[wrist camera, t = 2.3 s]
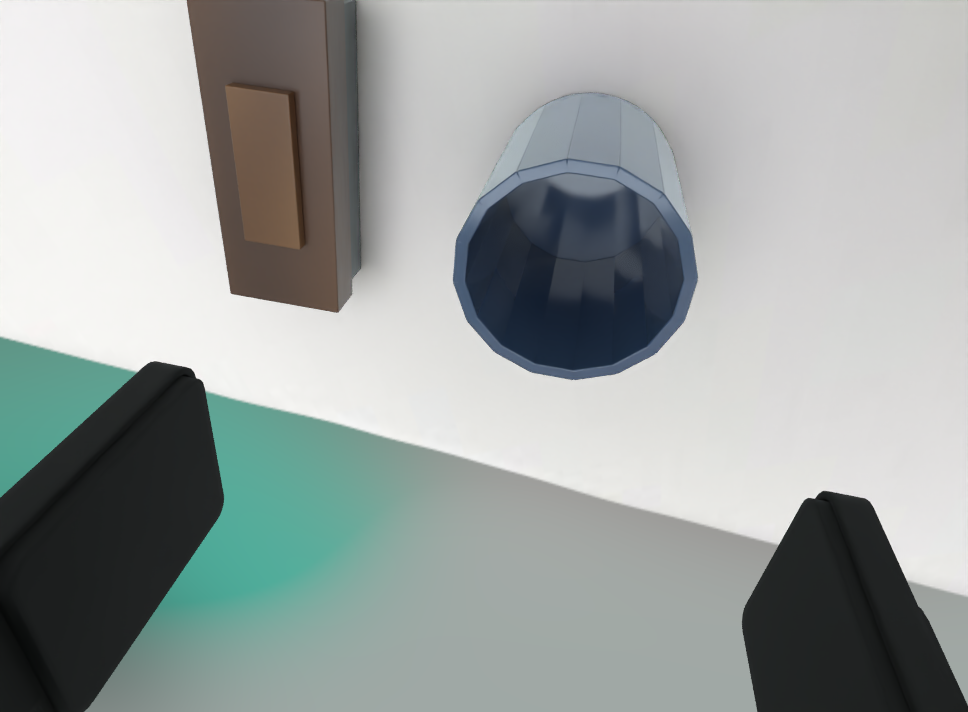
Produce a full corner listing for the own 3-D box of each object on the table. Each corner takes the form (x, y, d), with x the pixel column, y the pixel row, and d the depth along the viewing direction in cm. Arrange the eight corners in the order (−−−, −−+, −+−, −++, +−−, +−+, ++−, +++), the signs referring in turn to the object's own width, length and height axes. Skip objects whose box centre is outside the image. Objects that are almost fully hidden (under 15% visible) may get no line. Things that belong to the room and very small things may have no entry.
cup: (696, 106, 24) (729, 182, 17) (650, 275, 28) (660, 396, 21) (509, 80, 25) (462, 143, 17) (491, 249, 29) (447, 357, 22)
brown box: (363, -9, 24) (319, 2, 21) (367, 274, 31) (334, 319, 27) (238, -25, 25) (174, -17, 21) (269, 258, 31) (224, 299, 28)
